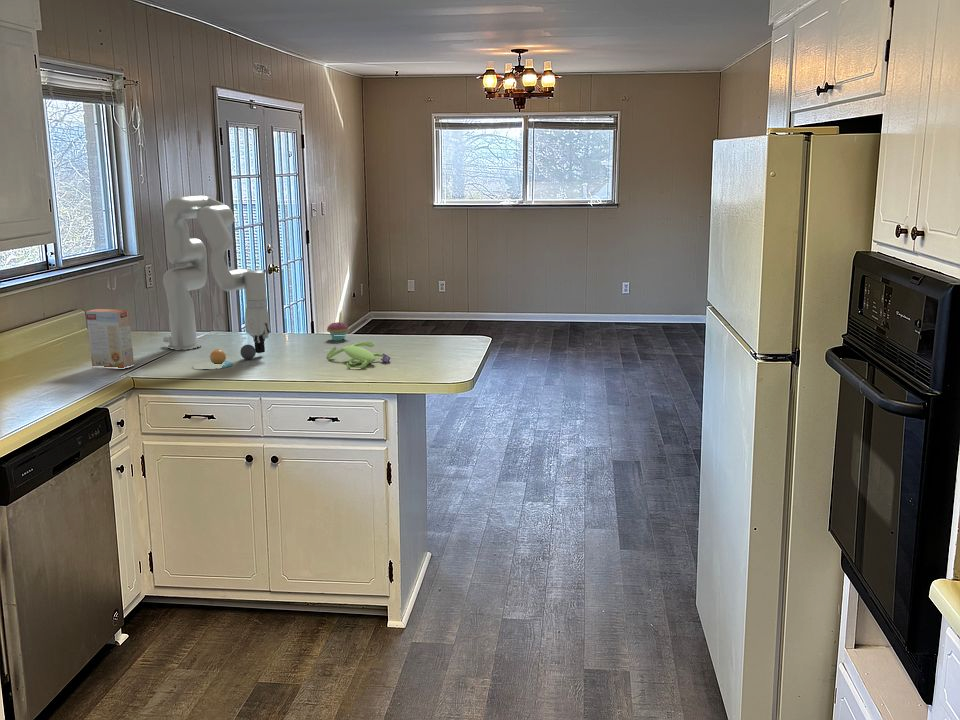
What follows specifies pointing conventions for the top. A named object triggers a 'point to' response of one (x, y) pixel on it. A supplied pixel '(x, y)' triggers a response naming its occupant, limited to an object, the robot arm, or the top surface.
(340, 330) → the cupcake
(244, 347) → the dark gray ball
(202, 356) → the top surface
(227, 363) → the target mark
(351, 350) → the figurine
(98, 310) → the cracker box
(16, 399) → the top surface
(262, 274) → the robot arm
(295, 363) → the top surface
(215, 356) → the object ball
